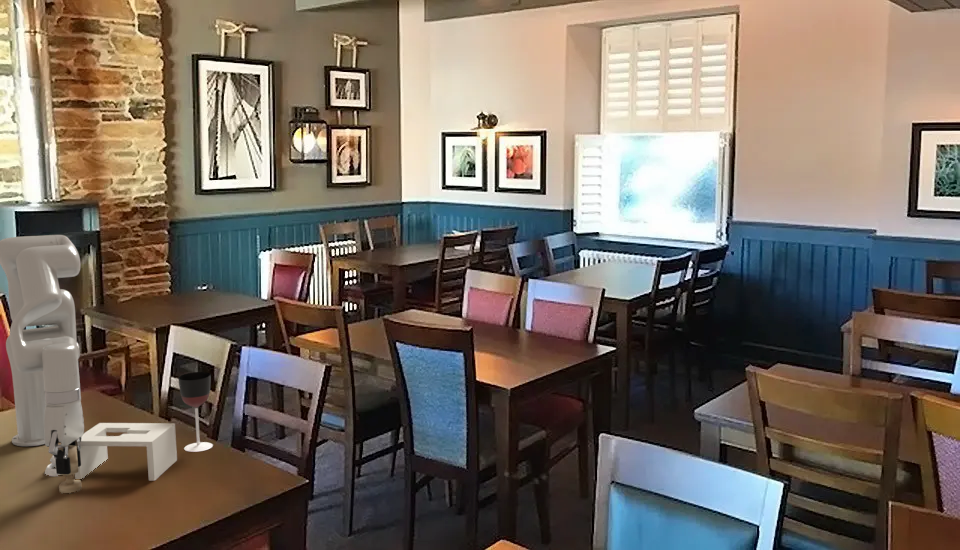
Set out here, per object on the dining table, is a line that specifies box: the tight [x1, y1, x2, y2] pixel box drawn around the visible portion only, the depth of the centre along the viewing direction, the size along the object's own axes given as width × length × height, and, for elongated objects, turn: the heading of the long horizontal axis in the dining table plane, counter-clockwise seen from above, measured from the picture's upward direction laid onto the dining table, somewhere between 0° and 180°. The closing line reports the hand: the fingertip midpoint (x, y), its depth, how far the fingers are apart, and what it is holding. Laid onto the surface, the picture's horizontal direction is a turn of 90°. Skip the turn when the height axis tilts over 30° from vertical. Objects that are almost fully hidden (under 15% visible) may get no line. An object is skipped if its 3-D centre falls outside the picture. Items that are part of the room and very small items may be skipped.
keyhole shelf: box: [74, 422, 178, 482], centre depth 214 cm, size 20×14×10 cm
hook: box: [44, 454, 60, 477], centre depth 214 cm, size 8×12×7 cm
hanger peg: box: [58, 445, 83, 494], centre depth 202 cm, size 5×5×10 cm
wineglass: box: [178, 371, 214, 453], centre depth 230 cm, size 8×9×20 cm
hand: (69, 469), depth 202 cm, fingers closed on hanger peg, 4 cm apart
